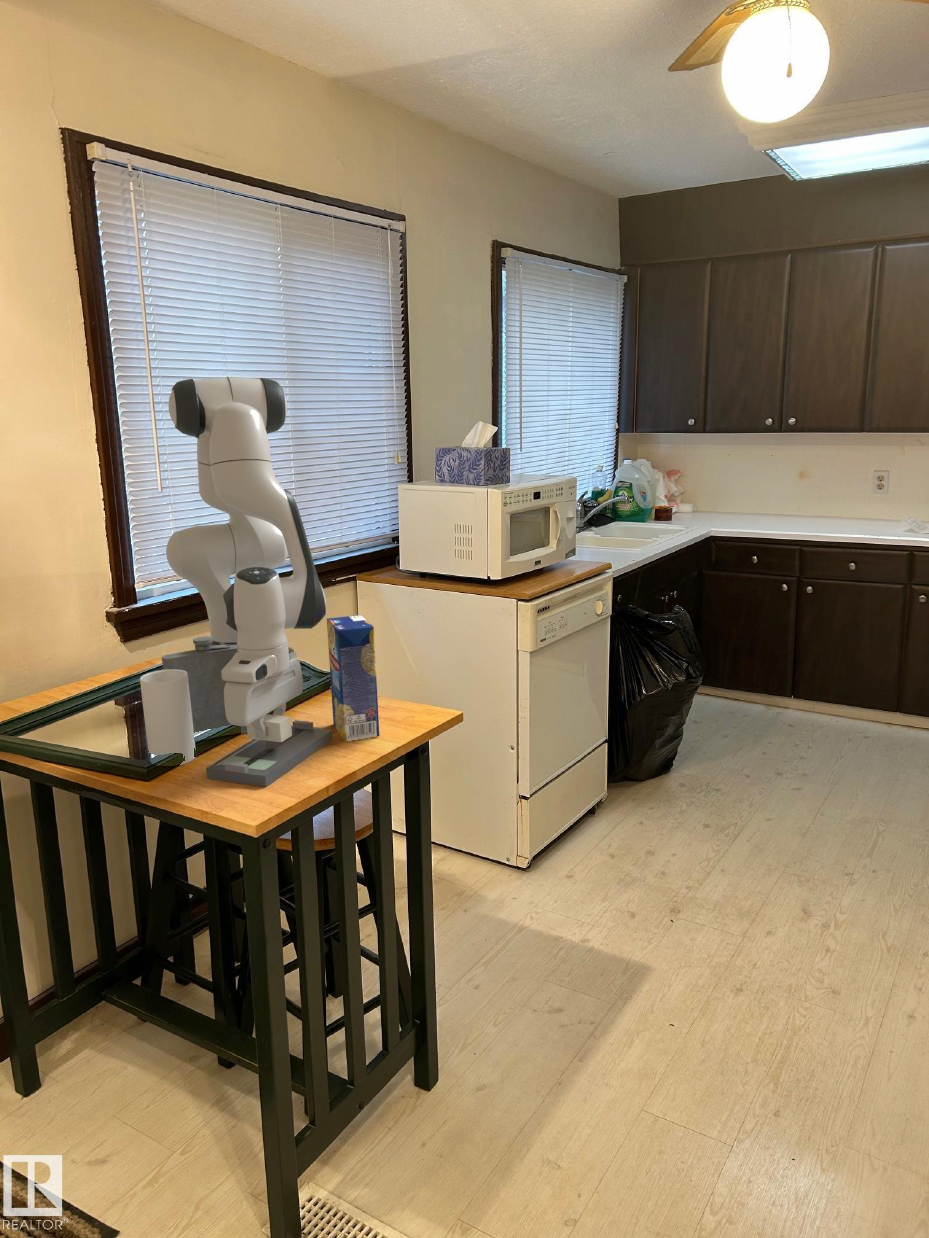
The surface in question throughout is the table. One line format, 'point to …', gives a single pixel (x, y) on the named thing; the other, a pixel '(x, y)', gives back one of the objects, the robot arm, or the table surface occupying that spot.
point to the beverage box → (353, 677)
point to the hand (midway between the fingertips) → (269, 732)
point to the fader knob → (273, 729)
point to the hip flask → (205, 681)
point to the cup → (168, 713)
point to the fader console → (269, 756)
